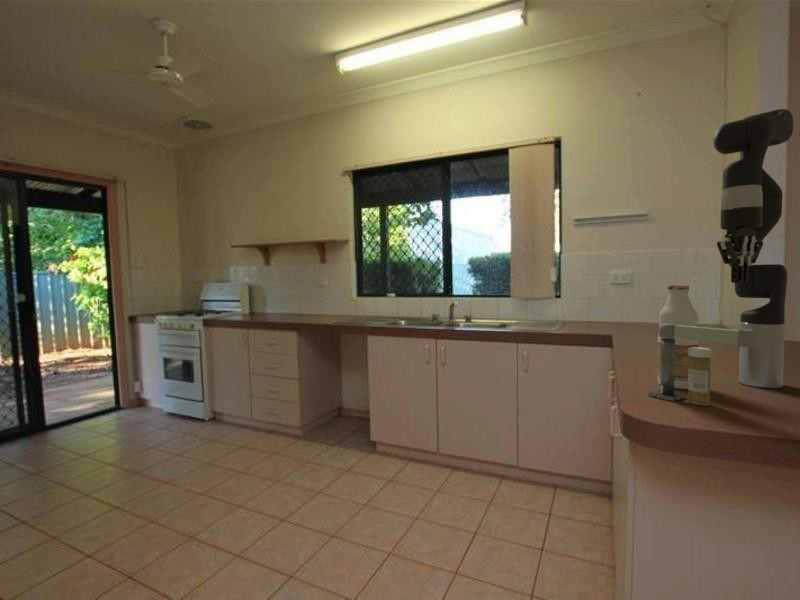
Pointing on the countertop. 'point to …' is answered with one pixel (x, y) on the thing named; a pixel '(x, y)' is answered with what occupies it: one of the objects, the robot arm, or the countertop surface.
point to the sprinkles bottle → (699, 376)
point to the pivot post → (667, 372)
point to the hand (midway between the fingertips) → (739, 282)
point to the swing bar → (710, 334)
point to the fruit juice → (679, 314)
